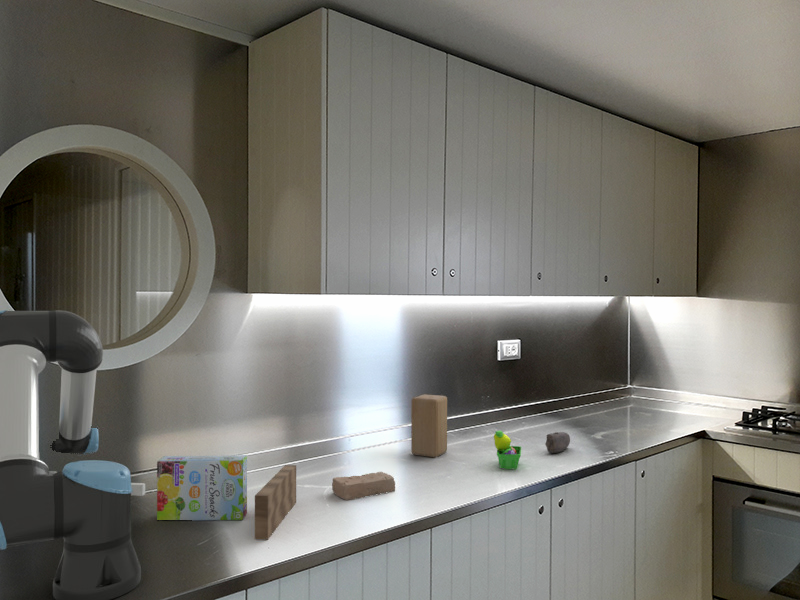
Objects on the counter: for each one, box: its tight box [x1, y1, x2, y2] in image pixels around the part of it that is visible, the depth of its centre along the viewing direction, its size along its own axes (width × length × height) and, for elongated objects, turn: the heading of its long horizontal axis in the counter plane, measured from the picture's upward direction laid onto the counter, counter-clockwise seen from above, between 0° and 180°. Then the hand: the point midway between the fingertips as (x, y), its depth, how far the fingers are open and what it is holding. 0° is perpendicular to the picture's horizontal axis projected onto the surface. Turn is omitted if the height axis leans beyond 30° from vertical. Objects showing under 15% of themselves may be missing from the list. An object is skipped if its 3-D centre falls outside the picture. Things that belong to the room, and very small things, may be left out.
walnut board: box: [254, 464, 297, 541], centre depth 156 cm, size 26×3×10 cm, turn 175°
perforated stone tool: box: [544, 431, 571, 454], centre depth 226 cm, size 15×5×7 cm, turn 136°
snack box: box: [156, 454, 248, 521], centre depth 157 cm, size 21×6×15 cm, turn 92°
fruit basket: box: [493, 430, 522, 470], centre depth 207 cm, size 11×9×11 cm
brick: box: [331, 471, 396, 501], centre depth 178 cm, size 17×8×5 cm, turn 122°
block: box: [410, 393, 448, 458], centre depth 222 cm, size 10×10×20 cm
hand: (143, 489), depth 159 cm, fingers closed
